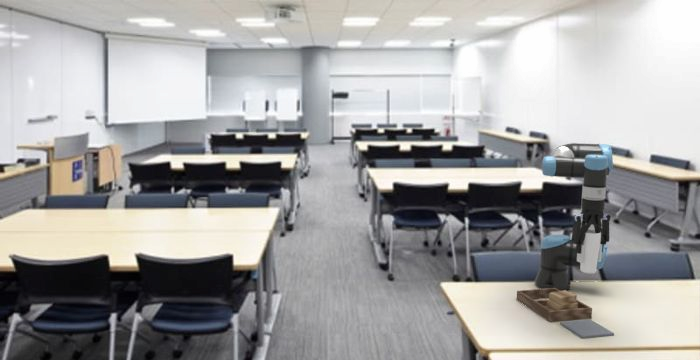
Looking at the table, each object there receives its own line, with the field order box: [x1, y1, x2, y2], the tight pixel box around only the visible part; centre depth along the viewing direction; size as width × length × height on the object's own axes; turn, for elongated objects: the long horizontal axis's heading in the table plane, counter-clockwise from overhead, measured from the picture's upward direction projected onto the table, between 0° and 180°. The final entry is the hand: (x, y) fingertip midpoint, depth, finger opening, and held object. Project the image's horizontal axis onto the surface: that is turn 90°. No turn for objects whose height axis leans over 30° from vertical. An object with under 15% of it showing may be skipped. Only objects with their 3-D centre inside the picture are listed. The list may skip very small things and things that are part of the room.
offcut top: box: [548, 290, 578, 305], centre depth 214 cm, size 8×6×3 cm
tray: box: [516, 288, 593, 323], centre depth 221 cm, size 18×24×4 cm
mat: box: [559, 318, 615, 340], centre depth 201 cm, size 13×13×1 cm
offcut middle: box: [546, 298, 578, 311], centre depth 215 cm, size 9×7×3 cm
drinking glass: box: [579, 229, 601, 275], centre depth 198 cm, size 7×7×15 cm
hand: (588, 261), depth 198 cm, fingers closed on drinking glass, 6 cm apart
